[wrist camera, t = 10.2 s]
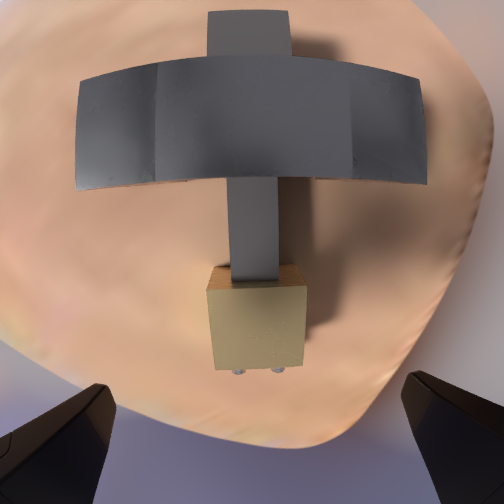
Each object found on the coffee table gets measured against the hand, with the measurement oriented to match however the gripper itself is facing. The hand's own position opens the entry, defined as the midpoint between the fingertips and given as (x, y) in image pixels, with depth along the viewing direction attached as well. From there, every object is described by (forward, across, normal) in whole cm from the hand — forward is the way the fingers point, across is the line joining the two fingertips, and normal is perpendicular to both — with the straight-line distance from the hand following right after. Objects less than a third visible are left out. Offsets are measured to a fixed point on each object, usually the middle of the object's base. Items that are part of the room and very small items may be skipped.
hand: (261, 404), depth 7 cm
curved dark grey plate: (+8, 0, -8) cm, 11 cm away
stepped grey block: (+8, 0, -7) cm, 10 cm away
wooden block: (+8, 0, 0) cm, 8 cm away
